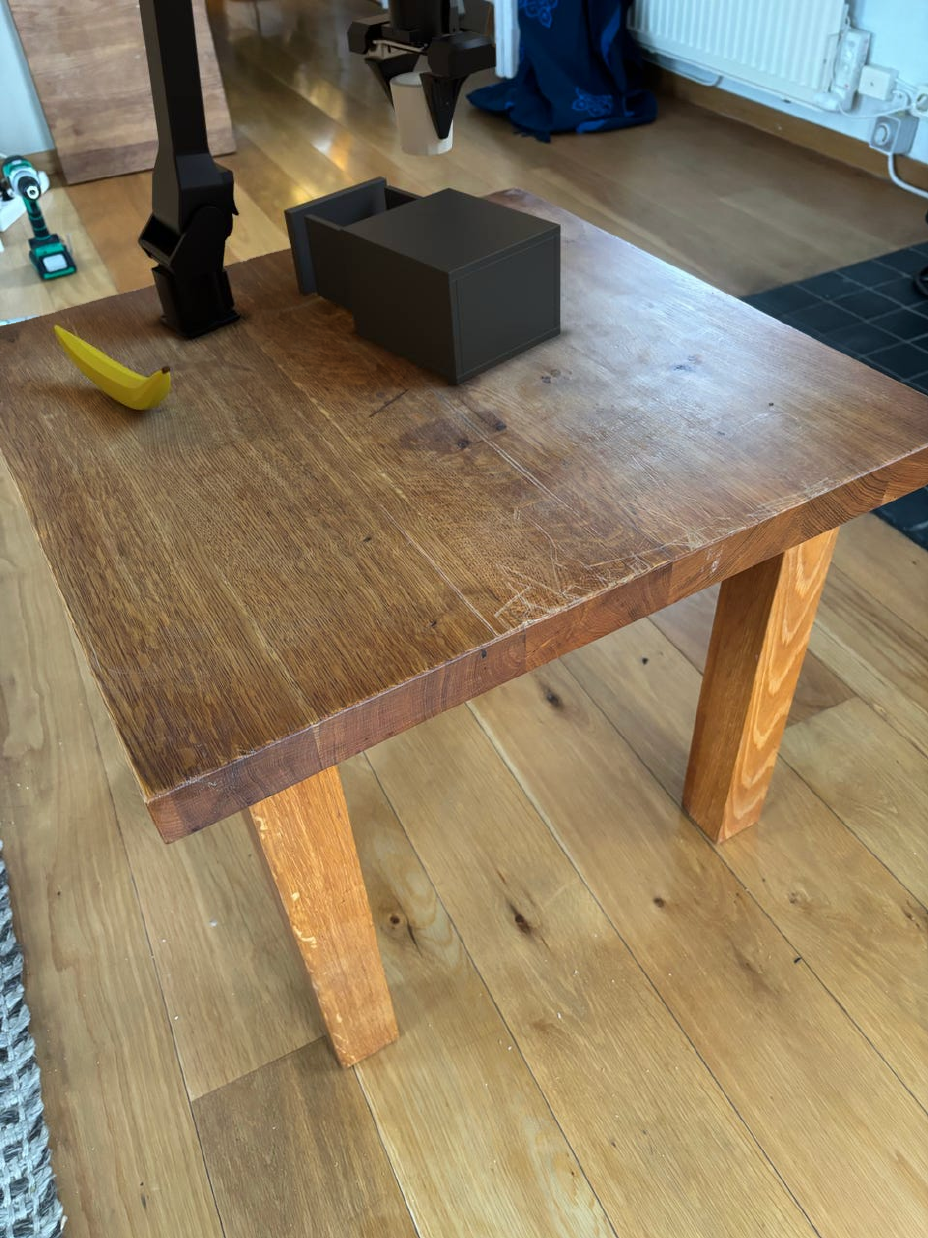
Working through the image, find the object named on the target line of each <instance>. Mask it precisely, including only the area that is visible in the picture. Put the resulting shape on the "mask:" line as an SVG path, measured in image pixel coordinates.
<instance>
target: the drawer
mask: <svg viewBox="0 0 928 1238" xmlns="http://www.w3.org/2000/svg"><path fill="white" fill-rule="evenodd" d="M423 197H424V196H423V195H422V196H421V195H418V194H415V193H413V192H410V191H407V190H404V189H401V188H398V187H396V186H393V185H390V184H388V180H387V178H386V177H383V176H380V175H379V176H376V177H374V178H371V179H368V180H365V181H362V182H359V183H356V184H354V185H351V186H348V187H345V188H343V189H339V190H337V191H333V192H331V193H329V194H326V195H323V196H319V197H317V198H315V199H312V200H308V201H306V202H303V203H301V204H298V205H295V206H292V207H289V208H286V209H284V210H283V214H284V219H285V225H286V229H287V235H288V240H289V246H290V250H291V256H292V261H293V266H294V267H293V268H294V272H295V277H296V284H297V289H298V294H299V295H301V296H303V297H308V296H310V295H313V294H316V295H317V296H318V297H321V298H322V299H325V300H326V301H328V302H331V303H333V304H334V305H336V306H339V307H341V308H343V309H345V310H347V311H349V312H351V313H353V312H352V305H351V299H350V292H349V286H348V279H347V273H346V266H345V259H344V253H343V246H342V240H341V233H340V228H343V227H346V226H348V225H351V224H354V223H356V222H359V221H362V220H364V219H367V218H370V217H372V216H375V215H377V214H380V213H383V212H385V211H388V210H391V209H393V208H396V207H399V206H401V205H404V204H407V203H409V202H412V201H415V200H417V199H420V198H423Z"/></svg>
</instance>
